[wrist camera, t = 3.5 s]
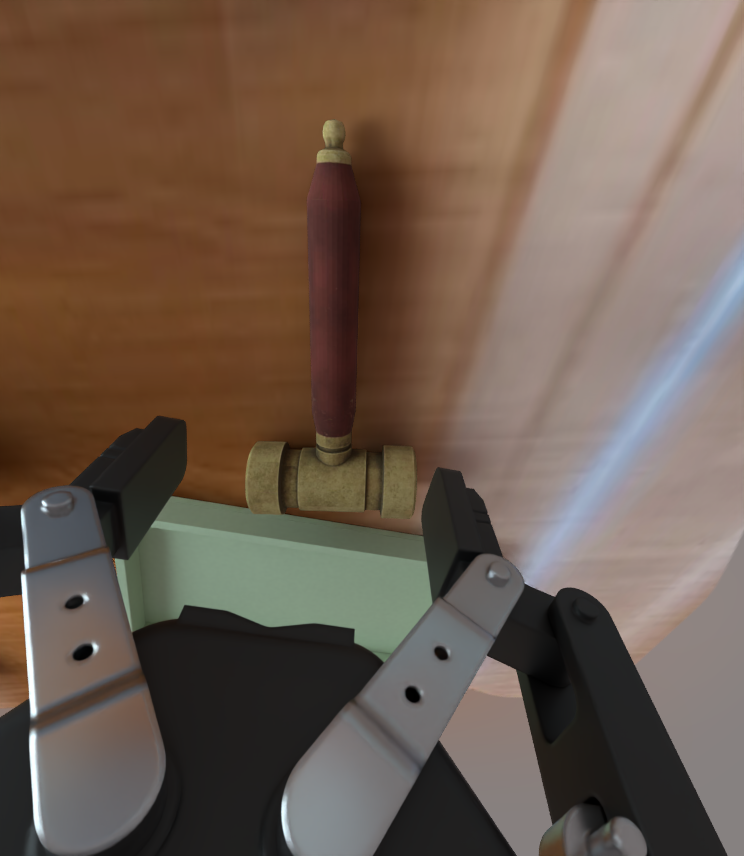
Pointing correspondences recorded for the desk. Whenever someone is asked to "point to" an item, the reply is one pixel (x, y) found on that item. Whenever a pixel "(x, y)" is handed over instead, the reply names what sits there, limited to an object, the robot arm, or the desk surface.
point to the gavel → (332, 372)
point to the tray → (277, 572)
